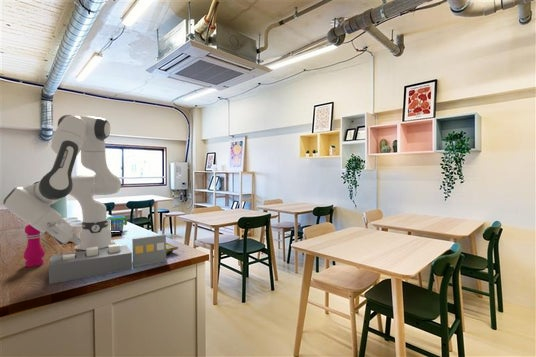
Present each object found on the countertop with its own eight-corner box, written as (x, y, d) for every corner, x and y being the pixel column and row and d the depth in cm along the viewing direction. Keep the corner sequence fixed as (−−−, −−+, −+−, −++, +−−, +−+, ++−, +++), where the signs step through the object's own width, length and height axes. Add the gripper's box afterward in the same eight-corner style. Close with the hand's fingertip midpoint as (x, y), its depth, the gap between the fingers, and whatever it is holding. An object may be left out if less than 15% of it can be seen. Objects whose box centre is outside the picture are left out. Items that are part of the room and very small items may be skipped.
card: (132, 264, 126) (131, 237, 126) (164, 258, 134) (164, 233, 134) (134, 267, 122) (133, 240, 122) (167, 261, 130) (166, 235, 129)
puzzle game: (158, 238, 155) (178, 244, 142) (158, 246, 155) (178, 254, 142) (136, 242, 146) (155, 250, 133) (136, 251, 146) (155, 259, 133)
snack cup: (121, 228, 198) (121, 214, 197) (132, 230, 193) (131, 215, 192) (100, 233, 184) (99, 218, 183) (110, 235, 179) (110, 219, 178)
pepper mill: (32, 262, 129) (30, 218, 128) (48, 261, 129) (47, 218, 128) (19, 267, 121) (17, 221, 121) (37, 267, 122) (35, 221, 121)
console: (51, 272, 116) (51, 255, 116) (127, 260, 132) (126, 245, 132) (49, 284, 104) (48, 265, 104) (132, 268, 120) (131, 252, 120)
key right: (108, 255, 123) (108, 245, 123) (118, 253, 125) (118, 243, 125) (109, 257, 120) (109, 247, 119) (119, 255, 122) (119, 245, 122)
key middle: (86, 258, 118) (86, 247, 118) (97, 256, 121) (97, 246, 121) (86, 261, 115) (86, 250, 115) (98, 259, 117) (98, 248, 117)
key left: (63, 266, 114) (62, 255, 114) (75, 264, 116) (74, 253, 116) (62, 269, 111) (62, 257, 111) (75, 267, 113) (74, 256, 113)
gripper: (54, 219, 102) (86, 242, 108) (57, 211, 119) (85, 231, 125) (38, 233, 100) (73, 255, 105) (44, 223, 116) (73, 243, 122)
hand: (79, 242), depth 115 cm, fingers closed
